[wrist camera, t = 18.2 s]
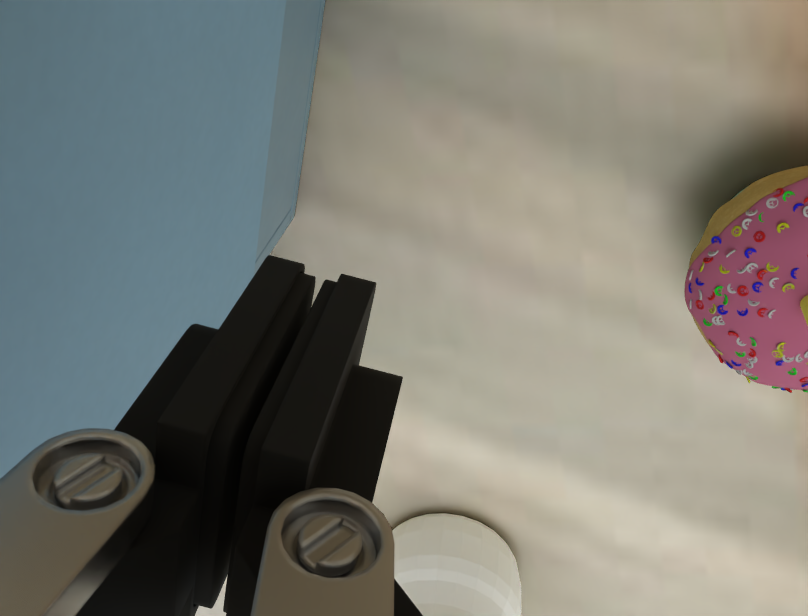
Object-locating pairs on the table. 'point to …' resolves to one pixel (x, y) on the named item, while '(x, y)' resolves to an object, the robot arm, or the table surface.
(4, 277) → the lid
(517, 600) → the bottle
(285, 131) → the box
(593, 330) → the table surface
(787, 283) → the cupcake
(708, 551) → the table surface
